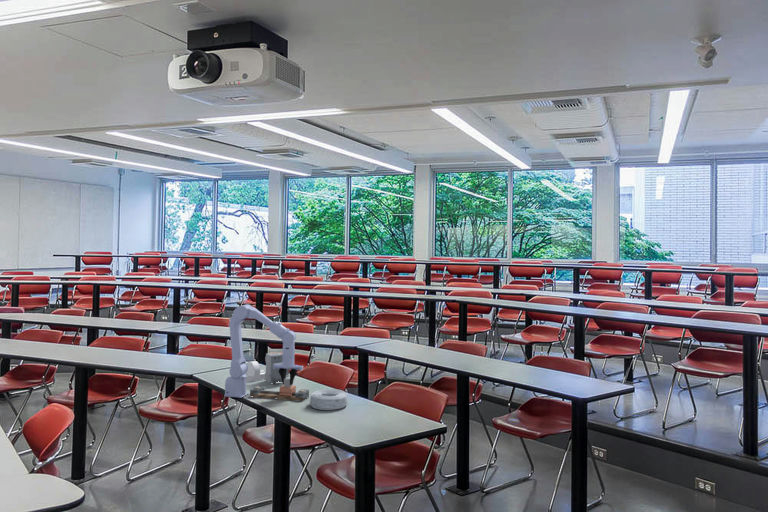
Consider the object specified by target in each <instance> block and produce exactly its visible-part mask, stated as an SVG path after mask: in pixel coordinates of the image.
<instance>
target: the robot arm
mask: <svg viewBox="0 0 768 512" xmlns="http://www.w3.org/2000/svg"><path fill="white" fill-rule="evenodd" d="M247 319H250V320H251V319H255V320H256V321H258V322H260V323H262V324H263V325H264V326H266V327H267V328H268V329H269V332H270V333H272V334H273V335H275V336H276V337H277V338H279V339H281V342H282V354H283V357H282V364H274V365H273V369H279V374H280V376H281V378H282V382H283V383H282V386H283V385H284V379H285V378H287V377H286V372H287V369H289V378H290V385H294V384H293V383H294V380H295V377H296V375H297V374H298V371H304V365H298V364H295V351H296V350H295V347H296V346H295V344H296V343H295V342H296V339H297V334H296V333H295V331H294V330H290V328H288V327H287V328H286V327H285V326H284V325H282V322H281V321H272V320H271V319H270V318H269V317H267V316H266V315H265V314H264V313H262V312H261V311H260V310H258V308H256V307H255V306H252V305H251V304H249V303H248V304H247V303H246V304H243V305H239V306H237V307H236V308H235V309H234V310H233V313H232V315H231V317H230V319H229V323H228V325H229V333H230V334H229V336H230V344H231V345H230V348H231V357H232V358H231V361H230V368H229V371H228V372H229V375H230V376H227V377H226V379H225V383H224V395H223V396H224V397H227V398H228V397H230V398H239V399H240V398H241V399H243V398H244V397H246V396H248V395H250V392H247V383H246V372H247V371H248V366H247V361H246V358H245V355H244V347H243V338H242V337H243V336H242V323H243V322H244V321H246V320H247ZM247 394H248V395H247ZM243 395H244V397H243ZM245 395H246V396H245ZM242 397H243V398H242Z"/></svg>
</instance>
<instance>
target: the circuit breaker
mask: <svg viewBox="0 0 768 512" xmlns="http://www.w3.org/2000/svg"><path fill="white" fill-rule="evenodd" d="M282 357H283V353H281V352H272V353H265V357H264V362H265V372H266V373H265V380H266V381H267V382H270V383H276V382H278V381H279V382H282V378H281V376H280V374H279V369H273V365H274V364H282ZM289 371H290V369H287V372H286V378H290V373H289ZM265 380H264V381H265ZM266 381H265V382H266ZM267 382H266V383H267ZM270 383H269V384H270Z"/></svg>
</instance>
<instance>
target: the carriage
mask: <svg viewBox="0 0 768 512" xmlns="http://www.w3.org/2000/svg"><path fill="white" fill-rule="evenodd" d="M278 391H279V395H286V396H292V393H296V392H297V385H294V384H292V385H290V377H286V378H285V379H284V385H283V384H282V385H281V386H279V390H278Z"/></svg>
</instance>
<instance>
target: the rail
mask: <svg viewBox="0 0 768 512" xmlns="http://www.w3.org/2000/svg"><path fill="white" fill-rule="evenodd" d="M265 388H266V387H265V386H262V385H256V386H254V387H252V388H251V389H249V397H250V396H253V397H252V398H256V397H261V398H260V399H269V398H277V399H276V400H281V399H289V400H288V401H294V400H300V401H299V402H304V401H306V400H307V399H308V398H309V397H310V390H309V389H306V388H304V389H303V388H302V389H299V390H298V391H296V393H292V396H286V395H279V390H265ZM307 397H308V398H307ZM306 398H307V399H306ZM305 399H306V400H305Z"/></svg>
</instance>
